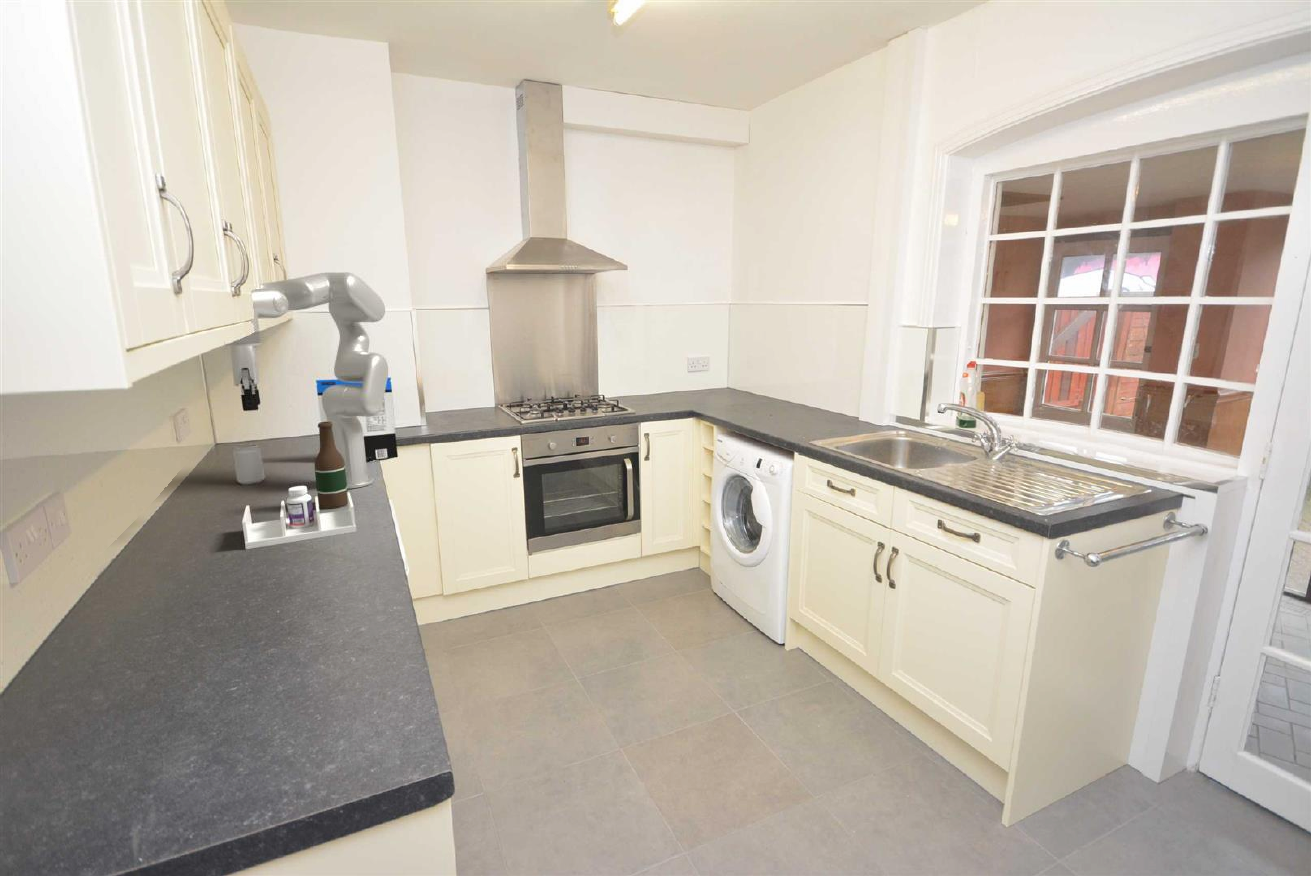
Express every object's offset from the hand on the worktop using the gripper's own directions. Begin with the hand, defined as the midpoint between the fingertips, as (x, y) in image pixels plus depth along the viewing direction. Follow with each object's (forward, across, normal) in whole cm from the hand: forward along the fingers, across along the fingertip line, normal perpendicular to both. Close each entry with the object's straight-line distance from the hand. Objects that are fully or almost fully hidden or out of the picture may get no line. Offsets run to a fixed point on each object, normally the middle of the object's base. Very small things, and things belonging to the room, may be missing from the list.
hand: (252, 407), depth 157 cm
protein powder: (+31, -60, +28) cm, 73 cm away
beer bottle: (+31, -6, +16) cm, 35 cm away
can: (+31, -46, -6) cm, 56 cm away
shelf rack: (+30, +13, +8) cm, 34 cm away
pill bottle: (+29, +13, +8) cm, 33 cm away
